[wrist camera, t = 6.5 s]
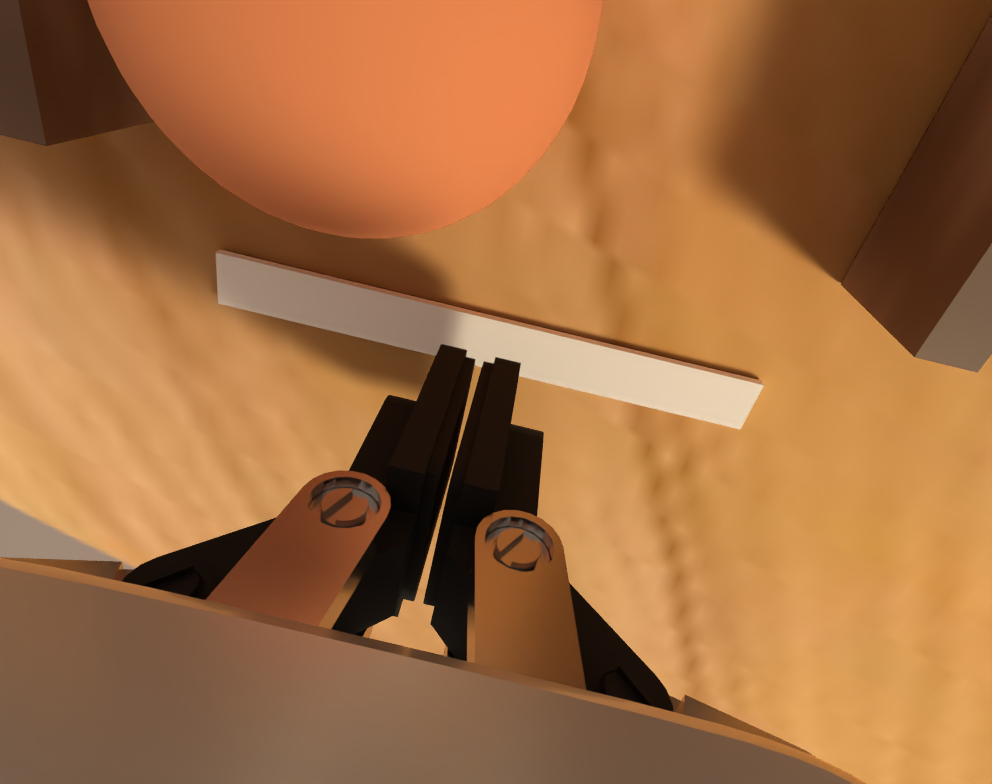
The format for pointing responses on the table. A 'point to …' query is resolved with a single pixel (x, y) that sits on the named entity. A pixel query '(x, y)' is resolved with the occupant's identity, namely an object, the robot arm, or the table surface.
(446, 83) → the ball
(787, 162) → the table surface
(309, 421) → the table surface
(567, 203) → the table surface
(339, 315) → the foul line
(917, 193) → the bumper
